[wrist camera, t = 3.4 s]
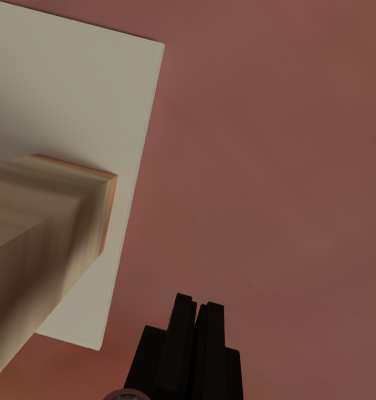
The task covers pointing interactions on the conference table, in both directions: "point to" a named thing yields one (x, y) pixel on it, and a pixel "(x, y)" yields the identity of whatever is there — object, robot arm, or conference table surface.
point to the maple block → (46, 238)
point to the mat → (78, 130)
